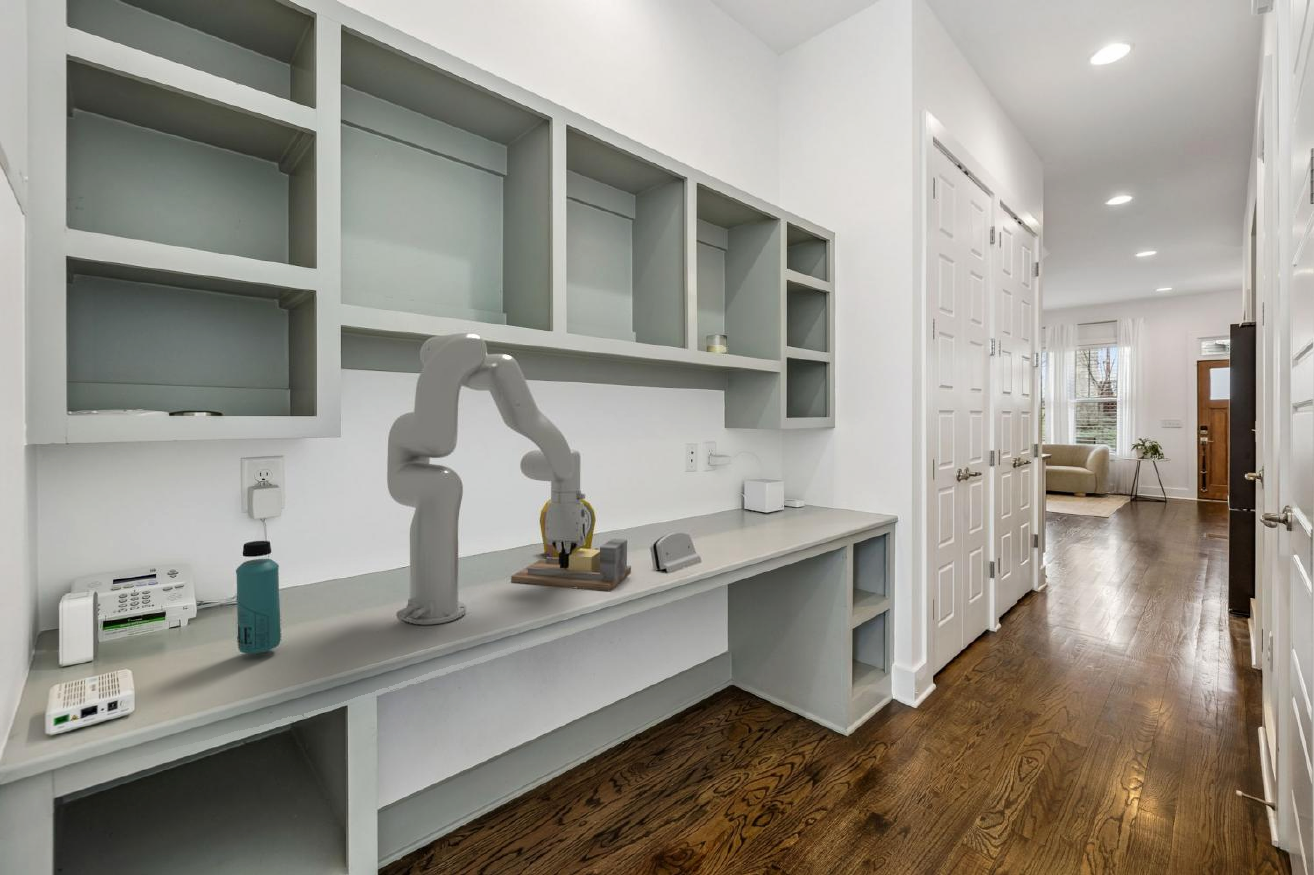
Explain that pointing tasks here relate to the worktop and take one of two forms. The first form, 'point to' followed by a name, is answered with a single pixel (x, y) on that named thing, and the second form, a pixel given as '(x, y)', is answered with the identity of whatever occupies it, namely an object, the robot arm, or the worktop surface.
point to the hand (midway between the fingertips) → (565, 567)
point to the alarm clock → (552, 550)
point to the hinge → (673, 552)
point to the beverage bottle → (258, 600)
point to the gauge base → (604, 579)
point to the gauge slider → (585, 560)
